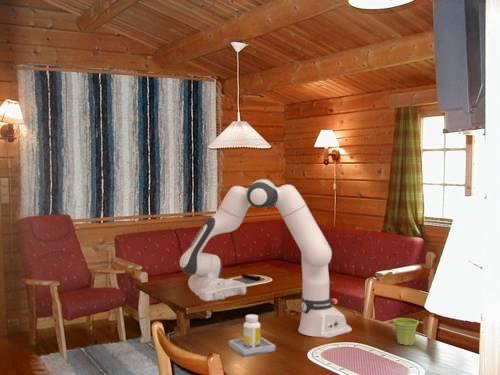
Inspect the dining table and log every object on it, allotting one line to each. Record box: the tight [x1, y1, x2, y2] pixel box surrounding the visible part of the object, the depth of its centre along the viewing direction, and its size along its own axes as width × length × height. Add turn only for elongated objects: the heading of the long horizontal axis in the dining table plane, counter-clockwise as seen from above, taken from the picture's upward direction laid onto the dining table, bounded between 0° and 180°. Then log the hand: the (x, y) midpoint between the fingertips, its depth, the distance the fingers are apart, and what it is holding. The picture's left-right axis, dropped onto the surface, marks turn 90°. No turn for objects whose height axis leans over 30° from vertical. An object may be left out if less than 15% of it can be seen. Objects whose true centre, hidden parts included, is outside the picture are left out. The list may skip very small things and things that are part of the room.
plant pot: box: [393, 317, 419, 346], centre depth 210 cm, size 9×9×9 cm
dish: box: [228, 336, 276, 358], centre depth 204 cm, size 13×13×2 cm
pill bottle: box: [242, 313, 262, 349], centre depth 204 cm, size 6×6×12 cm
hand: (234, 294), depth 213 cm, fingers open, 8 cm apart
